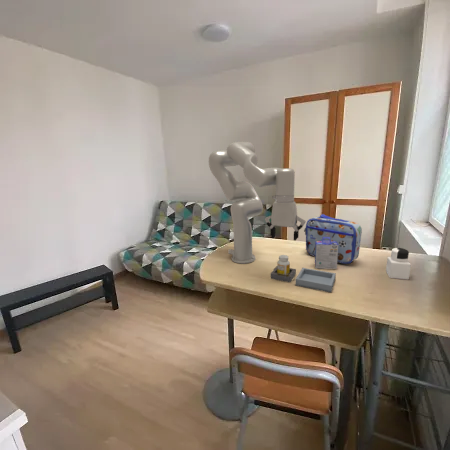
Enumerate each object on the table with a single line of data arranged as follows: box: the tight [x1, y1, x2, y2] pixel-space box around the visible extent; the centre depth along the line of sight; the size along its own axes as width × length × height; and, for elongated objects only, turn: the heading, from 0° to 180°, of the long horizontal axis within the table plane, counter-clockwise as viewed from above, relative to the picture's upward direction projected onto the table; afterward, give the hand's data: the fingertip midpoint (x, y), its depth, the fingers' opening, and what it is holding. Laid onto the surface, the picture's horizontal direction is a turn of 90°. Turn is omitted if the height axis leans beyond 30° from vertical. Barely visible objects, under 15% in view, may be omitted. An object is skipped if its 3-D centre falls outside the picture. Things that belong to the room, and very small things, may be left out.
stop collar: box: [269, 266, 297, 283], centre depth 117 cm, size 9×9×2 cm
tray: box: [295, 267, 337, 293], centre depth 110 cm, size 14×12×3 cm
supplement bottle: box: [276, 254, 291, 276], centre depth 116 cm, size 5×5×10 cm
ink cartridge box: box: [314, 237, 338, 270], centre depth 123 cm, size 10×6×14 cm, turn 78°
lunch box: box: [303, 213, 363, 265], centre depth 132 cm, size 28×10×22 cm, turn 42°
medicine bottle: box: [385, 247, 412, 280], centre depth 112 cm, size 7×7×12 cm
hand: (284, 238), depth 113 cm, fingers open, 9 cm apart
